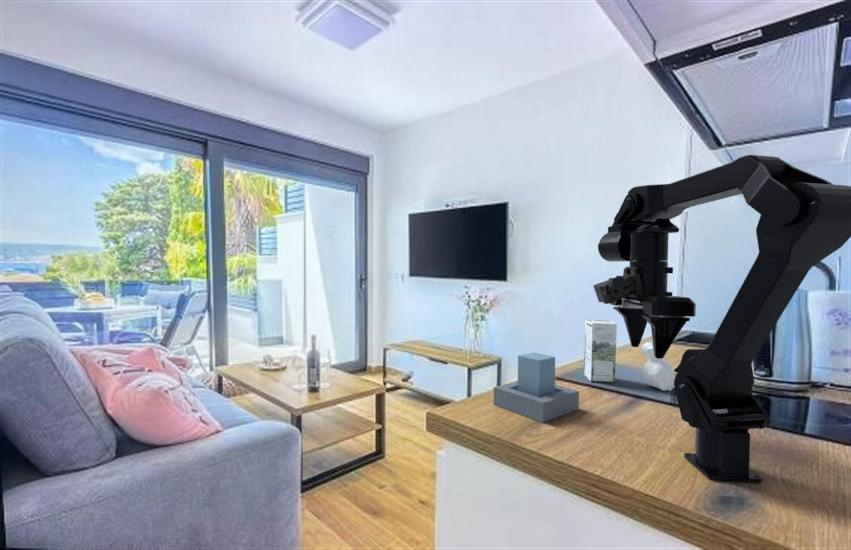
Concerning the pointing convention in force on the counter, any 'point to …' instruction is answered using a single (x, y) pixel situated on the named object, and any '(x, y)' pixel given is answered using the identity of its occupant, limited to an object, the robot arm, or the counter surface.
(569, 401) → the box
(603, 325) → the syrup box
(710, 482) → the counter surface
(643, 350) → the duck figurine
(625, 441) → the counter surface
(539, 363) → the peg block
